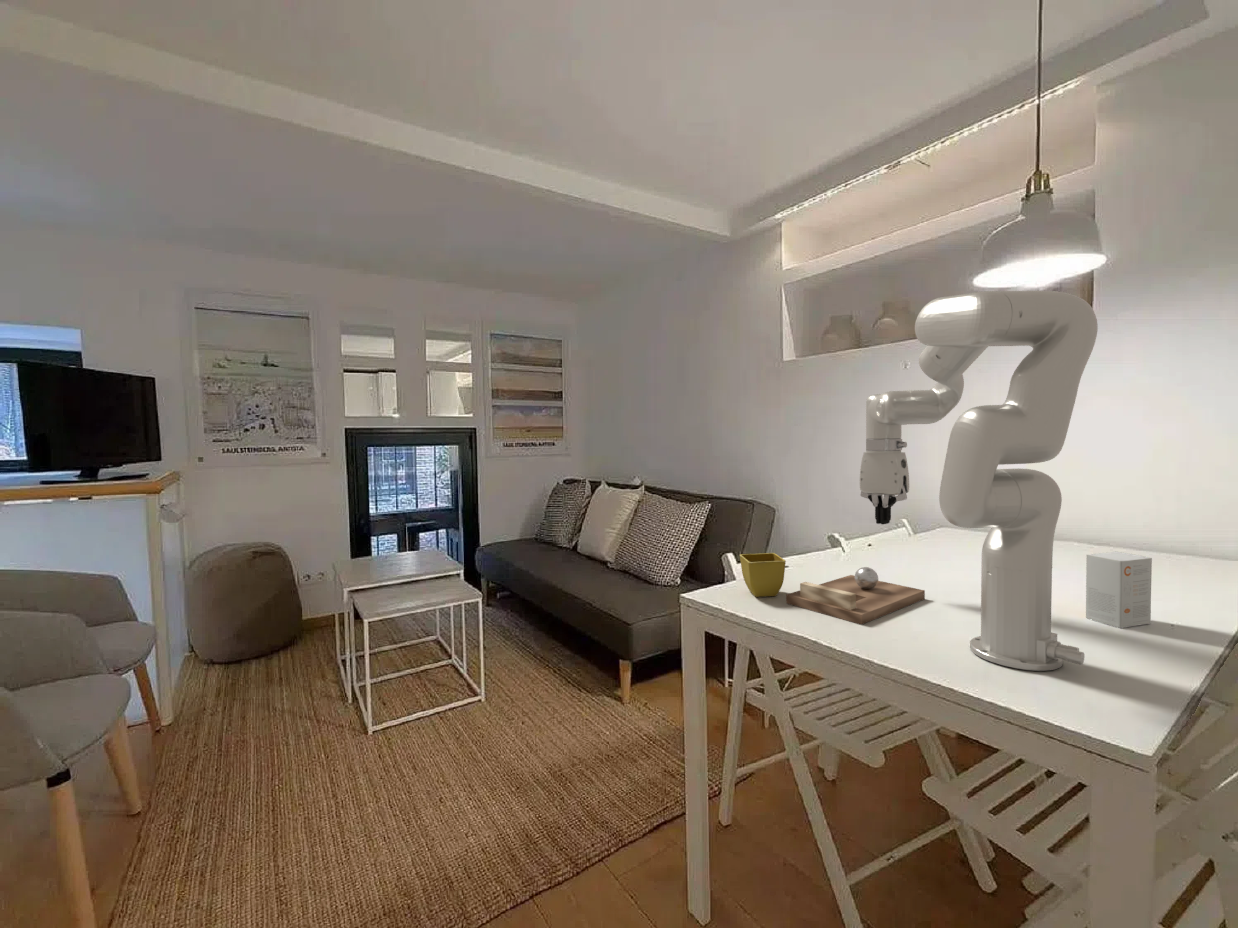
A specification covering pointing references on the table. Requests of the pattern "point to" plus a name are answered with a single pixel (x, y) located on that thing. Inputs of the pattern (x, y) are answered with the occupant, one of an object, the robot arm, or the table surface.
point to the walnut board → (863, 600)
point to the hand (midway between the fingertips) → (882, 523)
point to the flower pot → (763, 573)
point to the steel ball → (866, 578)
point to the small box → (1118, 589)
